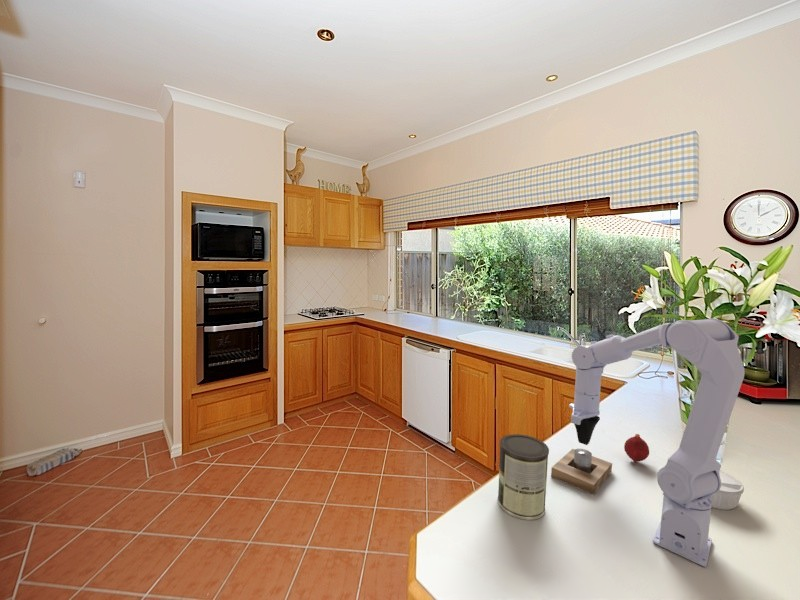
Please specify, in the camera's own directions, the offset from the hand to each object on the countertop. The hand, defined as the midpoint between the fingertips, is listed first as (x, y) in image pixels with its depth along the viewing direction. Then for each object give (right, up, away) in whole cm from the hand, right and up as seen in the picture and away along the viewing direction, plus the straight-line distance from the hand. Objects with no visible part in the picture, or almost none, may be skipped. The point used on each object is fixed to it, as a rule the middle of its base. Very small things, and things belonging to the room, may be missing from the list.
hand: (583, 442), depth 91 cm
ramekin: (+26, -10, -8) cm, 29 cm away
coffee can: (-20, -9, -11) cm, 25 cm away
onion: (+18, -9, +7) cm, 22 cm away
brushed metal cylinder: (0, -9, +1) cm, 9 cm away
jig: (0, -9, +1) cm, 8 cm away
